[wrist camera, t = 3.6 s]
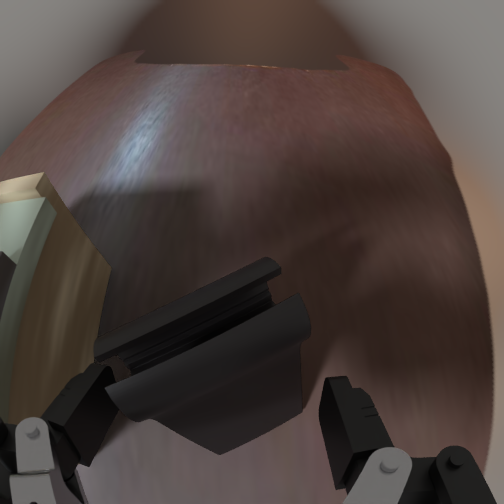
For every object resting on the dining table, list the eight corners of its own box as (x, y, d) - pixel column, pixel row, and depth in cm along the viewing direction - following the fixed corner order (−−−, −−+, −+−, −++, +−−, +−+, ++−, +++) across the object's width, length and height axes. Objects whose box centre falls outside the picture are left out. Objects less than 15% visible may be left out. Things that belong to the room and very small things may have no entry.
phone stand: (160, 339, 19) (68, 248, 8) (235, 303, 20) (220, 178, 10) (219, 454, 15) (172, 518, 4) (301, 412, 16) (379, 413, 6)
